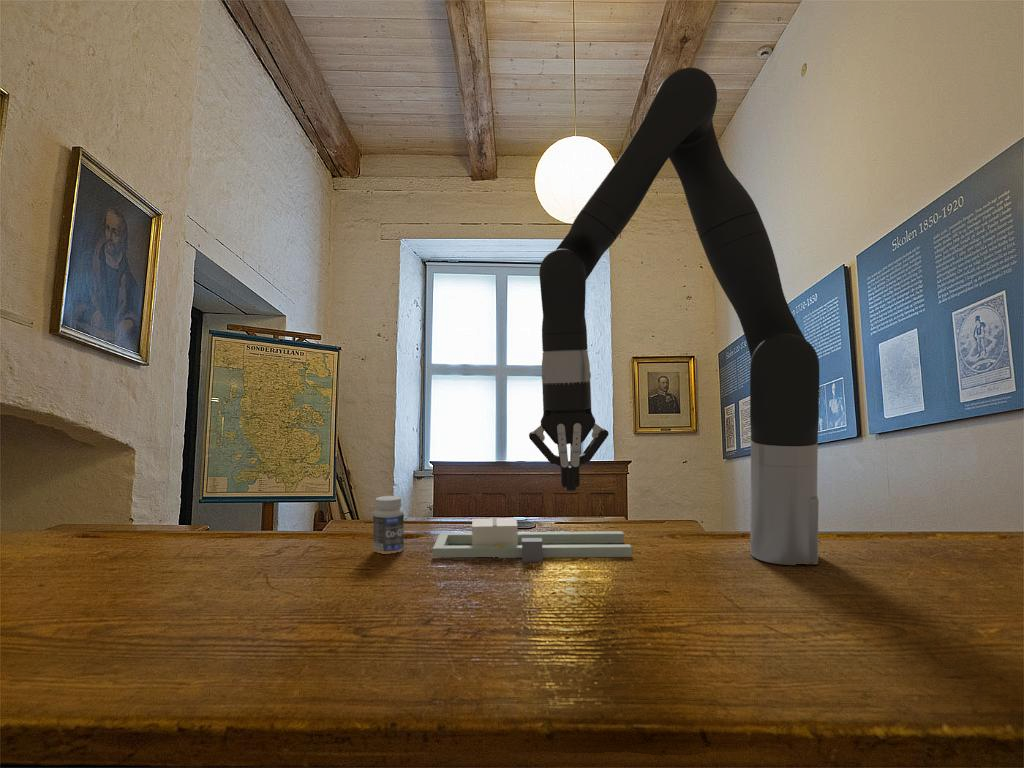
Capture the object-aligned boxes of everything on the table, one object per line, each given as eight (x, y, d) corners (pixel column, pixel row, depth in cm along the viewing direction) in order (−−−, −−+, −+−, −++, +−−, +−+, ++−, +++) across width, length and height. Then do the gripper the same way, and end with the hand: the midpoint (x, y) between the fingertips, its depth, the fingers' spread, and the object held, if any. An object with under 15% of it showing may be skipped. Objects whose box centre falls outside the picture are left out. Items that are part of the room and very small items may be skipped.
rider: (516, 545, 110) (516, 517, 110) (517, 554, 105) (517, 525, 105) (473, 546, 110) (472, 518, 109) (472, 555, 105) (471, 526, 104)
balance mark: (504, 532, 112) (504, 531, 112) (502, 548, 103) (502, 546, 103) (496, 532, 112) (496, 531, 112) (494, 548, 103) (494, 546, 103)
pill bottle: (388, 556, 104) (387, 502, 103) (367, 551, 107) (366, 498, 106) (410, 549, 108) (409, 497, 107) (389, 544, 110) (389, 493, 110)
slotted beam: (622, 540, 112) (622, 522, 111) (633, 560, 100) (633, 540, 100) (440, 541, 112) (439, 523, 112) (431, 562, 101) (430, 542, 101)
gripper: (604, 377, 110) (608, 484, 111) (523, 381, 110) (527, 487, 110) (612, 378, 103) (616, 492, 103) (524, 382, 102) (529, 496, 103)
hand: (570, 490), depth 107 cm, fingers closed
